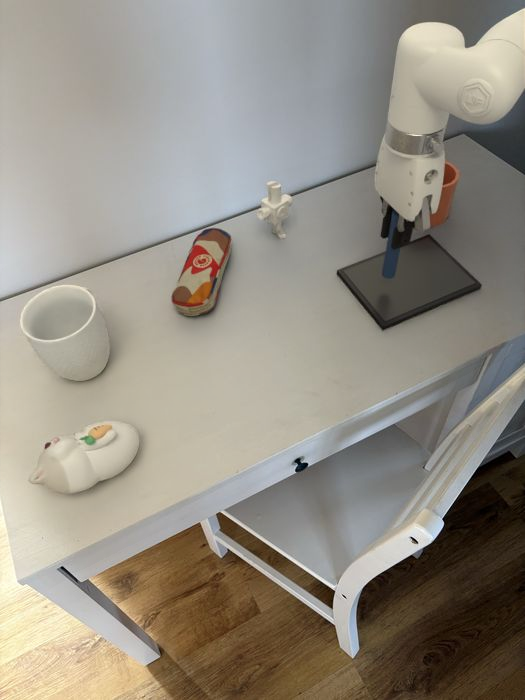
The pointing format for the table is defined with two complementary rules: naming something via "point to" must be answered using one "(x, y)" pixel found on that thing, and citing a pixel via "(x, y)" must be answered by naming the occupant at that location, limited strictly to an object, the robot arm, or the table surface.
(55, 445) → the cat figurine
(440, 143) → the robot arm
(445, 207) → the pen cup
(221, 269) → the pencil case
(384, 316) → the tablet
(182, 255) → the table surface
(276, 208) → the toy robot
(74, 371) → the mug
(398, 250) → the stylus
